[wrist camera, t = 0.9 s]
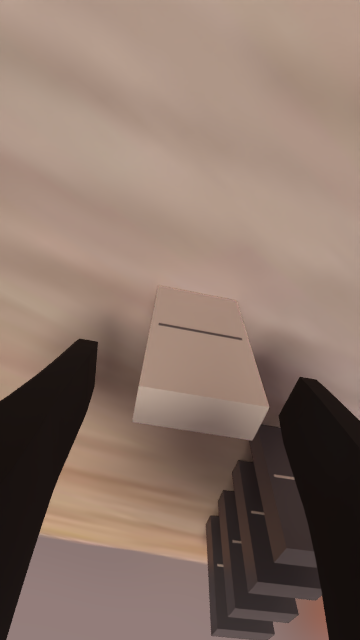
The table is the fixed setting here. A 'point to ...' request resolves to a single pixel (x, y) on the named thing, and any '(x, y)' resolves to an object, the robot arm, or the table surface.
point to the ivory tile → (199, 368)
